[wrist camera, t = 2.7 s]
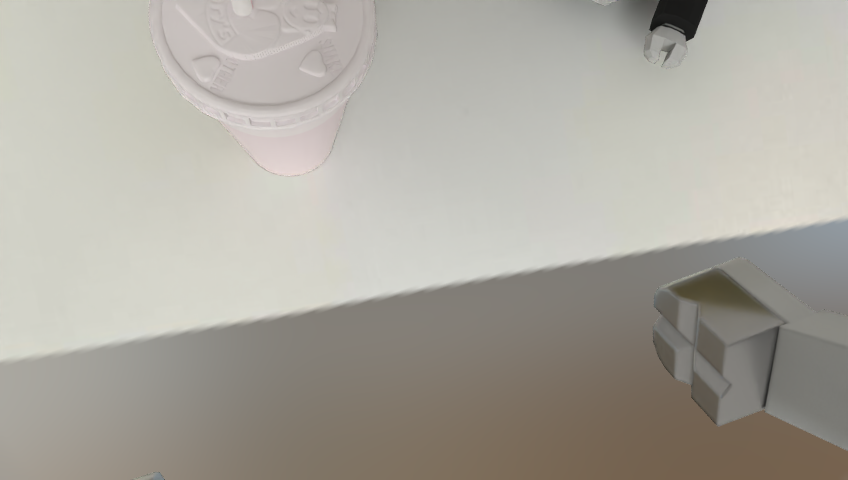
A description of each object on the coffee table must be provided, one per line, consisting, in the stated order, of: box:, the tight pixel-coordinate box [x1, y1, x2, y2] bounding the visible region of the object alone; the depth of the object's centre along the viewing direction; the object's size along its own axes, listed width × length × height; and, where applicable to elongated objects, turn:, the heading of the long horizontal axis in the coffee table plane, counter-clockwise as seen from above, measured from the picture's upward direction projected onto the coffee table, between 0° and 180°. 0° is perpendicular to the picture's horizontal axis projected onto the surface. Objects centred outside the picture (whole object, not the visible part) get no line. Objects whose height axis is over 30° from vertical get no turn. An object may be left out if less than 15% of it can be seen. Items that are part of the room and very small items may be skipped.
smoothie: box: [149, 0, 377, 176], centre depth 22 cm, size 6×6×14 cm
